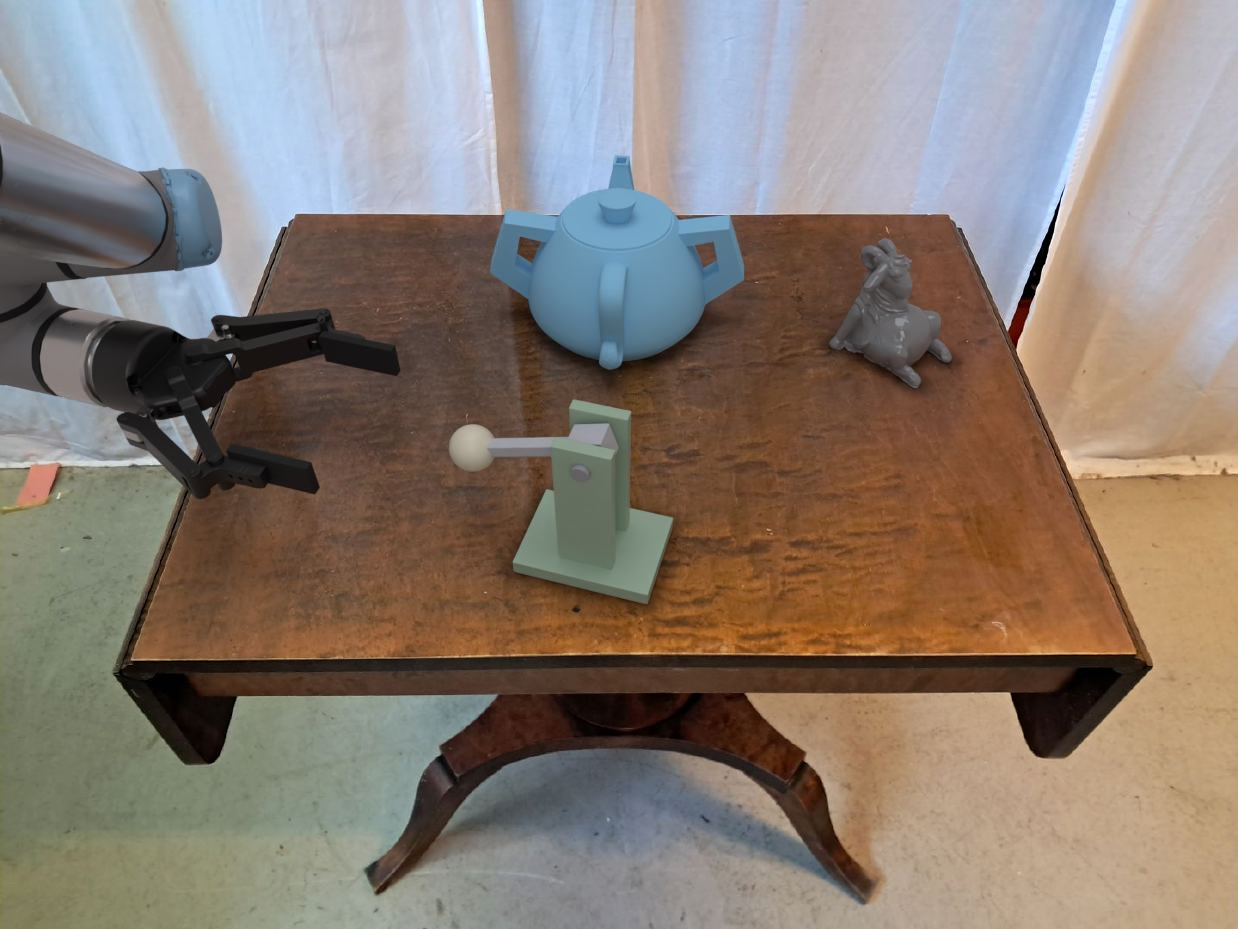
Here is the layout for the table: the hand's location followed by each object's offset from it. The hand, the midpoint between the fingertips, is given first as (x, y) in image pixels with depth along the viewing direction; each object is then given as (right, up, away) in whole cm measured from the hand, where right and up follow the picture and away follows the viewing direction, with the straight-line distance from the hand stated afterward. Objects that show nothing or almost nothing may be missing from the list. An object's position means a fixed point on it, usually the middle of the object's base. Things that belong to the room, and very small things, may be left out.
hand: (357, 416), depth 73 cm
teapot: (+20, +12, +25) cm, 34 cm away
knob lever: (+14, -4, -2) cm, 15 cm away
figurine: (+47, +8, +21) cm, 52 cm away
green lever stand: (+18, -11, +4) cm, 21 cm away
